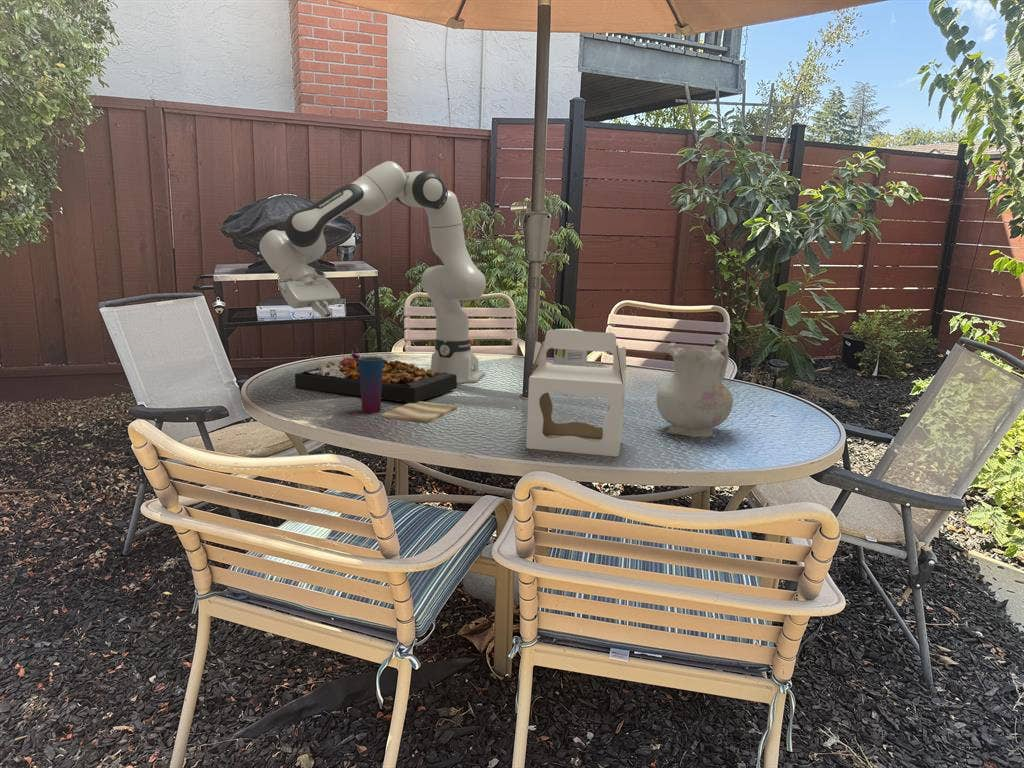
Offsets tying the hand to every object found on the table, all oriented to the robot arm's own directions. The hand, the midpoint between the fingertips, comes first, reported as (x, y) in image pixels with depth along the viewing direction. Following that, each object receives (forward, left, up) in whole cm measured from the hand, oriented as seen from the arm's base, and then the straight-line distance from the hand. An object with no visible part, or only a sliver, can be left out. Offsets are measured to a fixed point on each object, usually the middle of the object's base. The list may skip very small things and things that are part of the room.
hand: (327, 315), depth 200 cm
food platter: (-21, +3, -25) cm, 33 cm away
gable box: (+9, +78, -26) cm, 82 cm away
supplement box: (-76, +51, -26) cm, 95 cm away
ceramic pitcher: (-18, +103, -26) cm, 108 cm away
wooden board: (-1, +30, -25) cm, 39 cm away
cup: (+4, +17, -26) cm, 31 cm away
